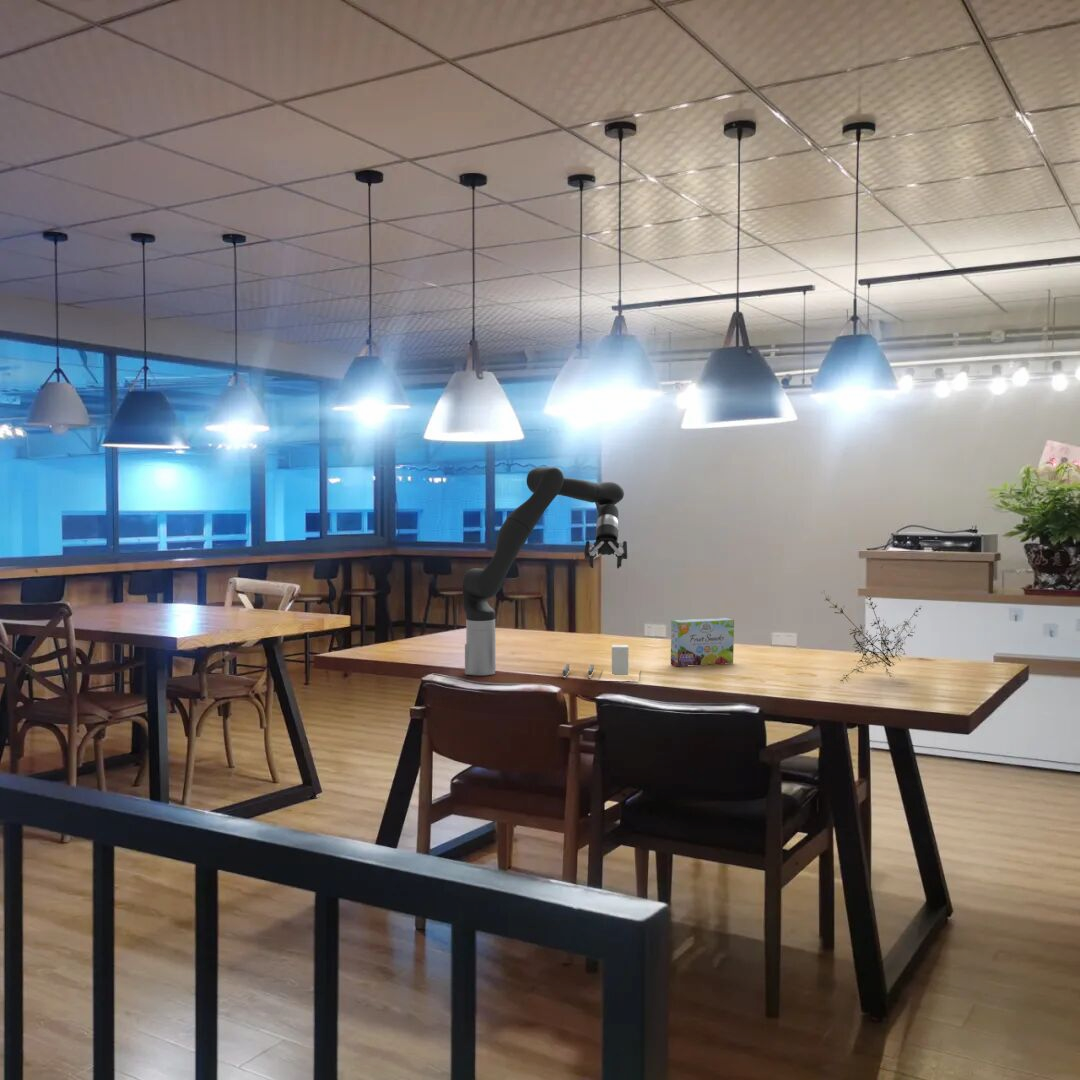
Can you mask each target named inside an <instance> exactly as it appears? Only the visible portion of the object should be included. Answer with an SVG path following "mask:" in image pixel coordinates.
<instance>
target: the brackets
mask: <svg viewBox="0 0 1080 1080" xmlns="http://www.w3.org/2000/svg"><path fill="white" fill-rule="evenodd" d="M593 670H594V671H595V665H594V664H590V667H589V669H588V673H587V674H588V675H591V674H592V672H593ZM568 671H569V672H570V663H567V664H566V665H565V666H564V668H563V669H562V677H563V676H566V675H567V673H568ZM568 674H569V673H568ZM567 676H568V675H567Z"/></svg>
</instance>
